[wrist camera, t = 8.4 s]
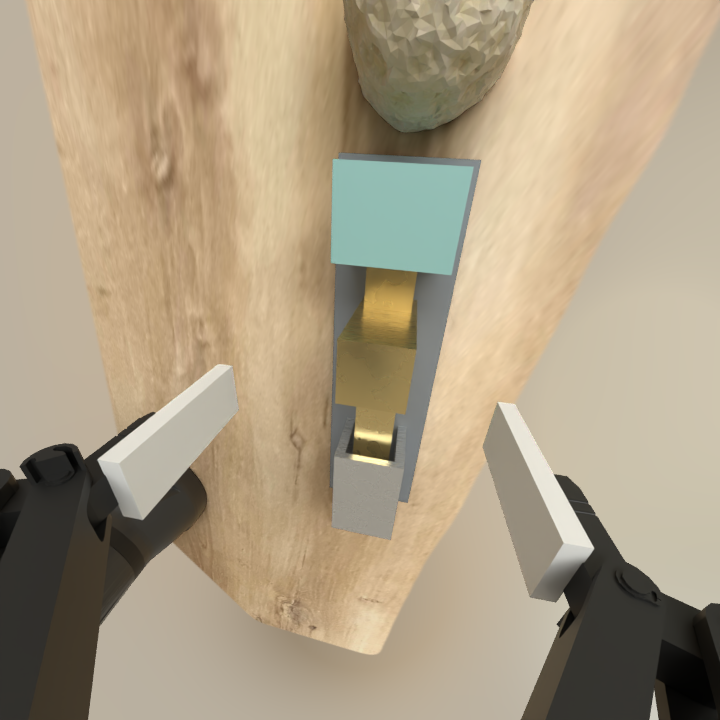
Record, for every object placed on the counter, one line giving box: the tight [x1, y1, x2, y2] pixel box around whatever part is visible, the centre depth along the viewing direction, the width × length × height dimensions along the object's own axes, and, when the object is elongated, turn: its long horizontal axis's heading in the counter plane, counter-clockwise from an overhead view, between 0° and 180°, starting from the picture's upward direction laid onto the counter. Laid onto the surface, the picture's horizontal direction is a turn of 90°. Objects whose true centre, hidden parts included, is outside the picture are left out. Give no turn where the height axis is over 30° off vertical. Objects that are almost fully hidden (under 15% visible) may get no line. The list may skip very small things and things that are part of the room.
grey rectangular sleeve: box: [332, 418, 406, 540], centre depth 29 cm, size 6×10×5 cm, turn 176°
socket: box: [331, 159, 474, 275], centre depth 18 cm, size 7×5×6 cm
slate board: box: [330, 153, 481, 503], centre depth 26 cm, size 9×32×1 cm, turn 176°
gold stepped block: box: [335, 267, 417, 461], centre depth 20 cm, size 4×20×9 cm, turn 176°
